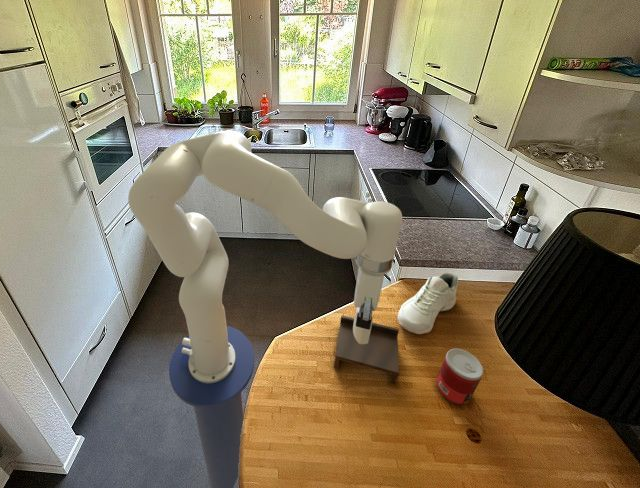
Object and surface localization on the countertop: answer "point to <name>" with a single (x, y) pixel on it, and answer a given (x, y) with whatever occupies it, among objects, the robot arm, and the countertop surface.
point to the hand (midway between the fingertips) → (363, 315)
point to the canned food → (459, 376)
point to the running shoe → (428, 303)
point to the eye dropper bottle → (361, 331)
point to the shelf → (369, 348)
